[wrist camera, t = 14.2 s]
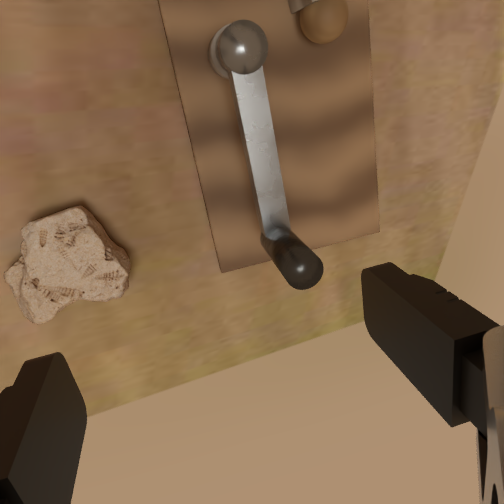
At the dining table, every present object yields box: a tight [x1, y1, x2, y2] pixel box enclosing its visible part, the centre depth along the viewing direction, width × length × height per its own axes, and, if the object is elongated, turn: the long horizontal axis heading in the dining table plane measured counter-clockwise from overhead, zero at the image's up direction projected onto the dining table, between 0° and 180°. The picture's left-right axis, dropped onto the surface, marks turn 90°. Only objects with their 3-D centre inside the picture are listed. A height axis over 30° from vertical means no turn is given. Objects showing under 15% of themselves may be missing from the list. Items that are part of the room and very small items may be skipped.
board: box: [158, 0, 380, 273], centre depth 36 cm, size 26×18×6 cm
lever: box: [215, 19, 323, 290], centre depth 31 cm, size 19×4×8 cm, turn 12°
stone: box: [4, 206, 131, 324], centre depth 37 cm, size 9×11×5 cm
